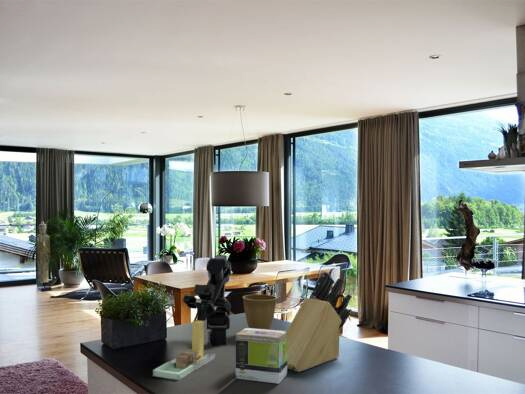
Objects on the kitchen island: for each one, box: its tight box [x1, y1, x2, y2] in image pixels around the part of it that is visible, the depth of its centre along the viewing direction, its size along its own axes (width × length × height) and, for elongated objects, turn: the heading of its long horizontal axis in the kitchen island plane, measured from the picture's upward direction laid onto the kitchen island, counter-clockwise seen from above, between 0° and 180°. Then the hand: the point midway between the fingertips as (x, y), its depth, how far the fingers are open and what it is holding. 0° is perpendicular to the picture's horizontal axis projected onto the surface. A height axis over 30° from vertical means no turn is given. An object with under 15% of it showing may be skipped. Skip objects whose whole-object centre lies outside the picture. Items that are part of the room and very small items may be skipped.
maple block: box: [182, 348, 199, 363], centre depth 174 cm, size 4×4×4 cm
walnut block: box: [175, 352, 192, 369], centre depth 170 cm, size 4×4×4 cm
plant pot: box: [242, 294, 278, 330], centre depth 219 cm, size 15×15×16 cm
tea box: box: [235, 327, 288, 384], centre depth 164 cm, size 15×10×15 cm, turn 71°
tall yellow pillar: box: [191, 319, 205, 359], centre depth 178 cm, size 4×5×13 cm
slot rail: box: [169, 352, 216, 372], centre depth 175 cm, size 16×10×3 cm, turn 159°
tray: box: [152, 361, 194, 381], centre depth 163 cm, size 10×10×3 cm
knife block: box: [286, 271, 353, 373], centre depth 183 cm, size 11×35×31 cm, turn 137°
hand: (198, 323), depth 182 cm, fingers closed
